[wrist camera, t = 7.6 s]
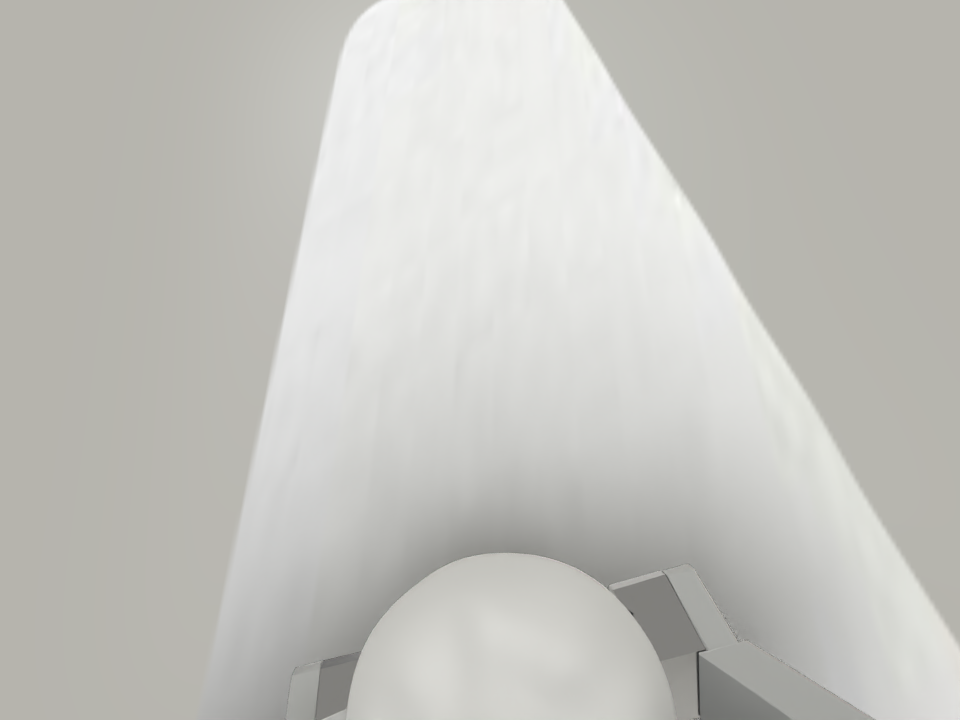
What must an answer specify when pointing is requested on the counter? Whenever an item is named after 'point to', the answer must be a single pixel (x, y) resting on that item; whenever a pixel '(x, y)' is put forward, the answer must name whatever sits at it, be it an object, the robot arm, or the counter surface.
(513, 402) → the counter surface
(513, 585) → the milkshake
